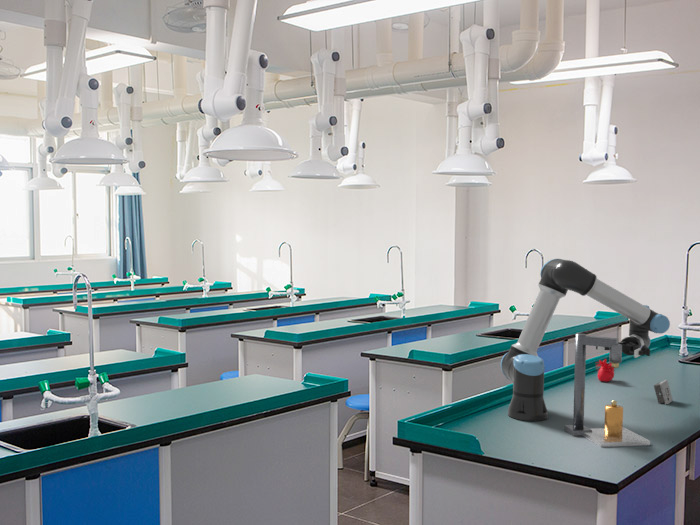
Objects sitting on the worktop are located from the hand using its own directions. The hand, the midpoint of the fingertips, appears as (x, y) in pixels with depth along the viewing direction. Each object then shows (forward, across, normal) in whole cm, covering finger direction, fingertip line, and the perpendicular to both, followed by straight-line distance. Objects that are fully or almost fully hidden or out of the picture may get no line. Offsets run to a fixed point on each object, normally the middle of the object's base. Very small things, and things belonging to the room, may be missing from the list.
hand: (616, 351), depth 263 cm
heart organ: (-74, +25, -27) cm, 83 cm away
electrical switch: (-47, -7, -27) cm, 55 cm away
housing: (+22, -6, -26) cm, 34 cm away
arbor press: (+22, -4, -27) cm, 35 cm away
